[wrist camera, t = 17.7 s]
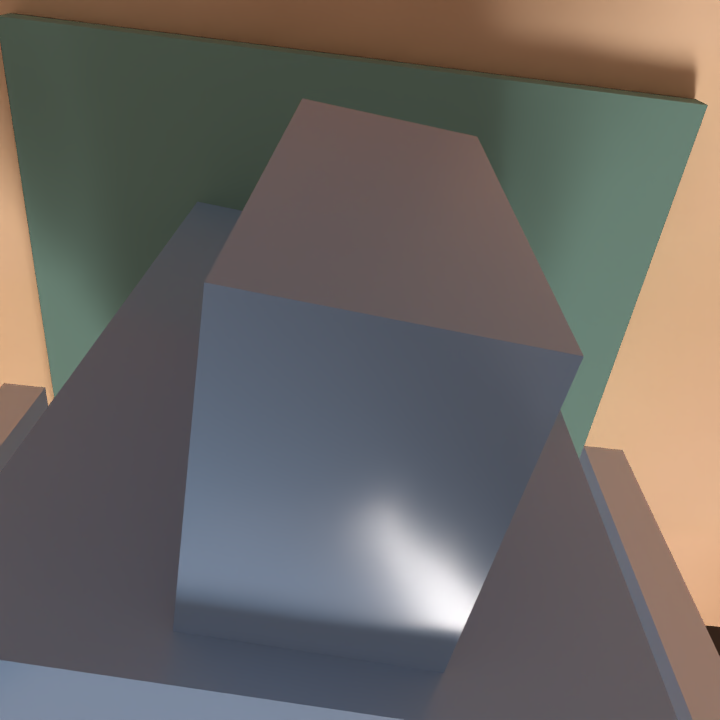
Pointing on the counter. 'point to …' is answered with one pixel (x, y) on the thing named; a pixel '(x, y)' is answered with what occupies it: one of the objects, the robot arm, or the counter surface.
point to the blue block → (323, 468)
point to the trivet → (263, 133)
